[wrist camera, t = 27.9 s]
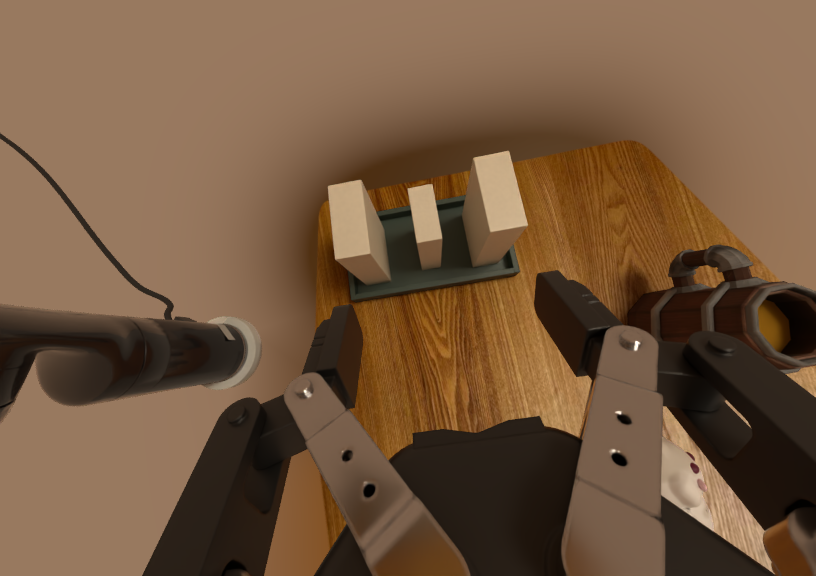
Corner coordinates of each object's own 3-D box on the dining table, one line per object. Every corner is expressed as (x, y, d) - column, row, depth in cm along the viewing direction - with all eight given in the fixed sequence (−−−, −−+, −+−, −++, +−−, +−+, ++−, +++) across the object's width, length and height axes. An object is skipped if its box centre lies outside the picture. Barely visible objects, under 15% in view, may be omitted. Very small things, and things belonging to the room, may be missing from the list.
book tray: (355, 302, 47) (351, 300, 44) (346, 224, 49) (341, 218, 47) (515, 275, 45) (520, 271, 42) (497, 196, 48) (500, 188, 45)
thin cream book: (422, 270, 46) (416, 243, 33) (415, 229, 47) (407, 188, 35) (440, 267, 46) (442, 238, 33) (433, 226, 47) (432, 183, 34)
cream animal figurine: (747, 613, 28) (701, 452, 29) (641, 582, 32) (606, 445, 33) (716, 537, 36) (681, 414, 37) (635, 521, 40) (606, 412, 41)
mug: (730, 363, 40) (900, 375, 25) (640, 379, 41) (756, 400, 26) (687, 256, 43) (816, 212, 28) (604, 273, 44) (689, 238, 29)
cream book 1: (366, 285, 46) (334, 259, 32) (360, 233, 48) (327, 185, 34) (391, 281, 46) (370, 253, 31) (384, 229, 48) (361, 179, 33)
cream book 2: (472, 267, 45) (490, 232, 31) (461, 215, 47) (473, 157, 32) (498, 263, 45) (528, 225, 30) (486, 210, 47) (509, 150, 32)
